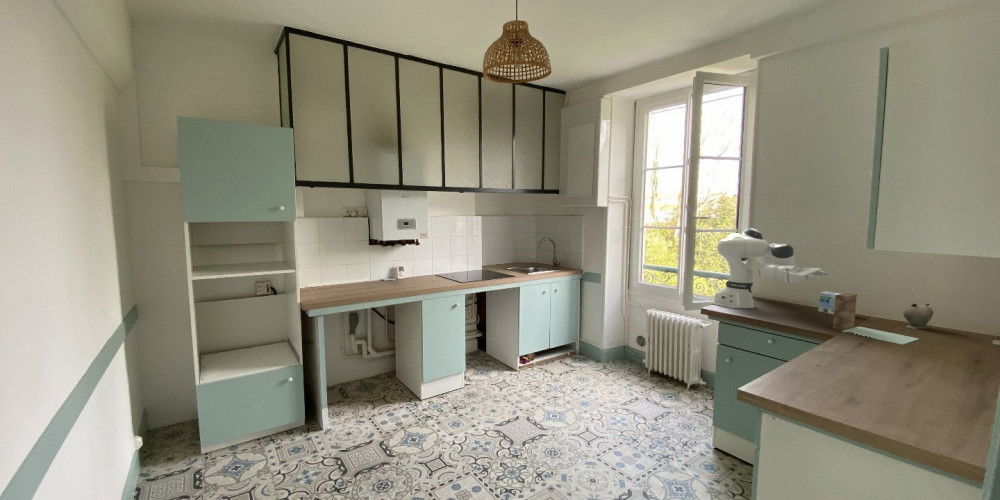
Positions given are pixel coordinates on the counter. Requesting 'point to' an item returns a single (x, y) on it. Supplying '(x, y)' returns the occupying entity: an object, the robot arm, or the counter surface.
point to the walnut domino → (844, 311)
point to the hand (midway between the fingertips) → (824, 276)
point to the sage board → (882, 335)
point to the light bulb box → (827, 302)
